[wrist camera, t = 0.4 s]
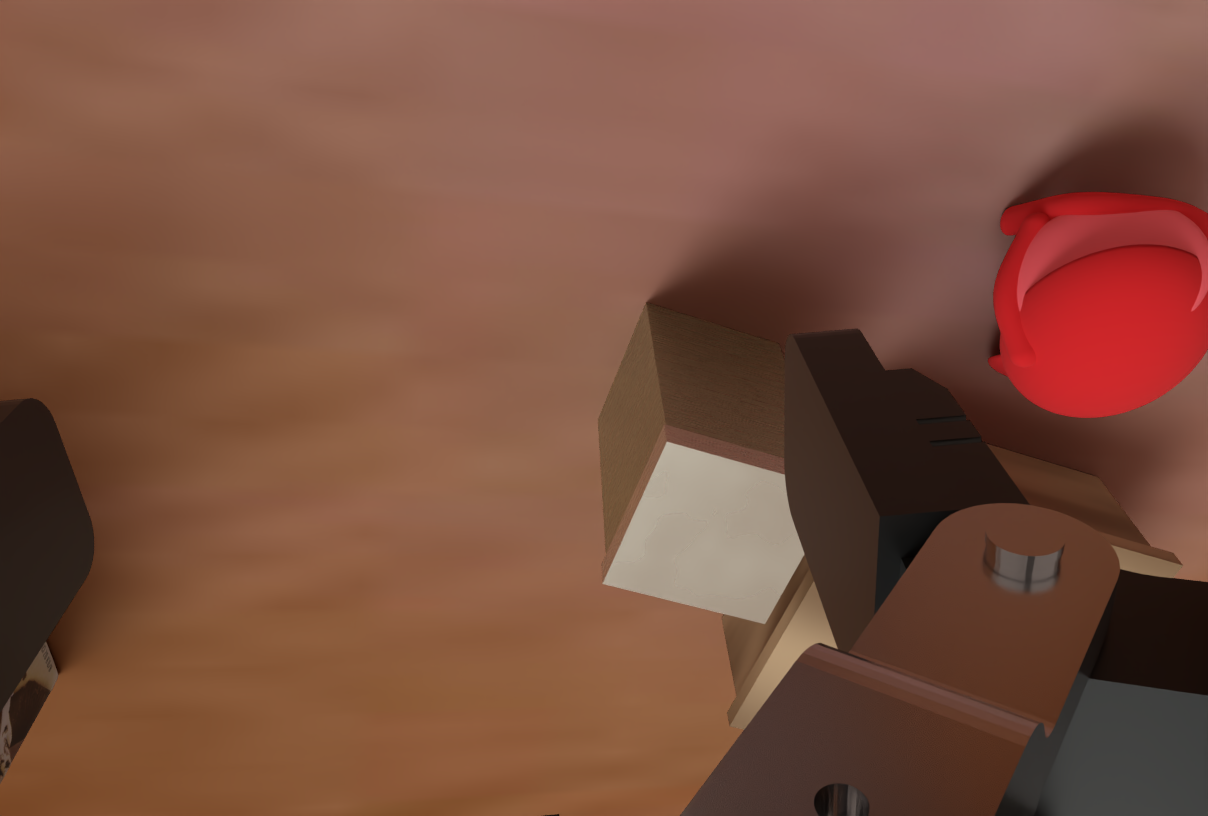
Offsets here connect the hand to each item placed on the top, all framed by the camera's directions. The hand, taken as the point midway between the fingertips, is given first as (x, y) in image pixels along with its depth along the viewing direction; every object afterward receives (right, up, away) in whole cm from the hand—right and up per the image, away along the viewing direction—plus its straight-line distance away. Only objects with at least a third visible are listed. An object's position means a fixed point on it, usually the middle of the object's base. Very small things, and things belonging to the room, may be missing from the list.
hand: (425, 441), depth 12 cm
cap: (+16, +5, +21) cm, 27 cm away
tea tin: (+5, +1, +23) cm, 23 cm away
